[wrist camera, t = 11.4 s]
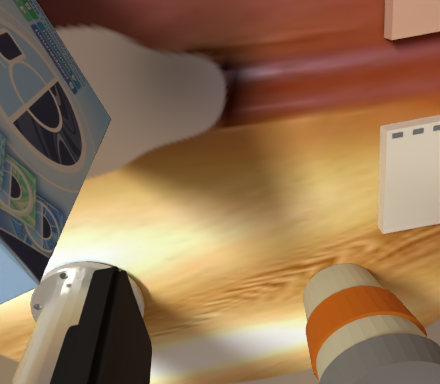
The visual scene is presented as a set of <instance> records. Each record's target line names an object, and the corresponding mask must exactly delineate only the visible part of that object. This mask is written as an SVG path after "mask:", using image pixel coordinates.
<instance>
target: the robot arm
mask: <svg viewBox="0 0 440 384" xmlns="http://www.w3.org/2000/svg"><path fill="white" fill-rule="evenodd" d="M30 305H31V313H32V315H33V318H34V320H35V322H36V325H35V327H34V330H33V332H32V335H31V337H30V339H29V342H28V344H27V347H26V349H25V351H24V354H23V356H22V359H21V361H20V363H19V366H18V368H17V371H16V373H15V375H14V378H13V380H12V383H11V384H149V383H150V371H151V358H152V347H151V341H150V338H149V335H148V332H147V329H146V326H145V323H144V321H143V317H144V310H145V302H144V296H143V294H142V292H141V290H140V288H139V287H138V285H137V284H136V283H135V281H134V280H132V279H131V278H130V277H129V276H128V275H127V273H126V271H120V270H119V269H118V268H117V267H111V266H109V265H104V264H100V263H94V262H75V263H70V264H65V265H63V266H60V267H57V268H55V269H53V270H52V271H50V272H49V273H47V274H46V275H45V276H44V277H43V278H42V279H41V283H40V284H39V286H37V287H36V288H35V290H34V292H33V294H32V298H31V304H30Z"/></svg>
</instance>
